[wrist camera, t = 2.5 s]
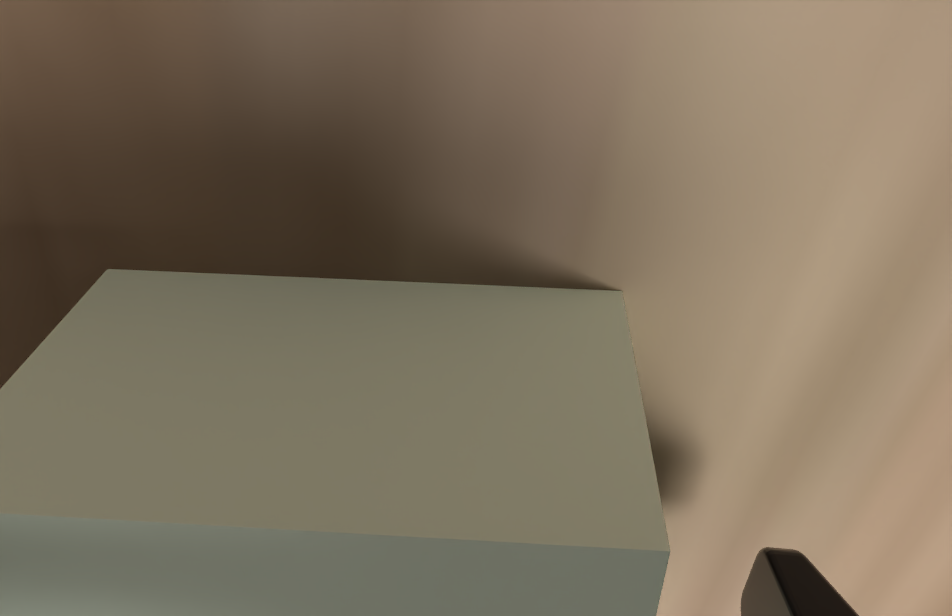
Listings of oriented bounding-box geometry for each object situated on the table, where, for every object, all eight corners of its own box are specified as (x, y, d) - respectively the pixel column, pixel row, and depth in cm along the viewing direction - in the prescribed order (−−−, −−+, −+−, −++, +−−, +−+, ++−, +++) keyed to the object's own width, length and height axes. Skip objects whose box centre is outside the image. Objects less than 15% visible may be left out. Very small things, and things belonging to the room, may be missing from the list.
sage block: (621, 280, 8) (669, 552, 5) (576, 606, 11) (593, 896, 8) (115, 259, 9) (-105, 508, 6) (202, 583, 12) (88, 859, 9)
